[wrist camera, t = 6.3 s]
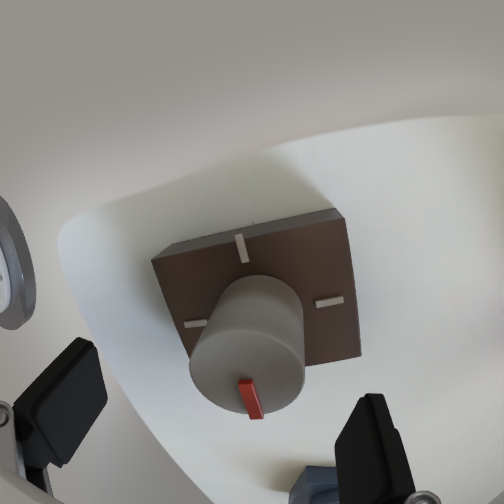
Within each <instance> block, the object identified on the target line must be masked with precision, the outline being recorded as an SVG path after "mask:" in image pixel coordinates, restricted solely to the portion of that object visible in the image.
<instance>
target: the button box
mask: <svg viewBox="0 0 504 504" xmlns="http://www.w3.org/2000/svg"><path fill="white" fill-rule="evenodd" d="M288 504H339V491H338V480H337V469H336V467H313V466H307V467H306V468H305V470H304V472H303V473H302V475H301V477H300V478H299V480H298V481H297V483H296V484H295V486H294V488H293V489H292V491H291V492H290V494H289V503H288Z"/></svg>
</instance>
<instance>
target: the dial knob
mask: <svg viewBox="0 0 504 504" xmlns="http://www.w3.org/2000/svg"><path fill="white" fill-rule="evenodd" d="M189 370H190V375H191V378H192V380H193V382H194V384H195V386H196V387H197V389H198V390H199V391H200V392H201V393H202V394H203V395H204V396H205V397H206V398H207V399H208V400H210V401H211V402H213V403H214V404H216V405H218V406H220V407H222V408H224V409H226V410H229V411H232V412H236V413H241V414H248V415H249V417H250V419H251V420H253V419H263V418H264V414H266V413H271V412H274V411H277V410H280V409H282V408H284V407H286V406H288V405H289V404H290V403H292V402H293V401H294V400H295V399H296V398H297V397H298V395H299V394H300V392H301V390H302V388H303V386H304V382H305V351H304V323H303V308H302V304H301V301H300V299H299V297H298V296H297V294H296V293H295V291H294V290H293V289H292V288H291V287H290V286H289V285H287V284H286V283H284V282H283V281H281V280H279V279H276V278H274V277H270V276H265V275H250V276H246V277H243V278H240V279H238V280H236V281H234V282H233V283H231V284H230V285H229V286H228V287H227V288H226V289H225V290H224V292H223V293H222V295H221V297H220V299H219V301H218V303H217V305H216V307H215V309H214V311H213V312H212V314H211V316H210V318H209V320H208V322H207V324H206V326H205V328H204V330H203V332H202V334H201V336H200V338H199V340H198V342H197V344H196V346H195V348H194V349H193V351H192V354H191V357H190V362H189Z"/></svg>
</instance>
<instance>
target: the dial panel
mask: <svg viewBox="0 0 504 504" xmlns="http://www.w3.org/2000/svg"><path fill="white" fill-rule="evenodd" d="M151 262H152V265H153V268H154V271H155V274H156V276H157V279H158V282H159V285H160V287H161V290H162V293H163V295H164V298H165V301H166V303H167V306H168V308H169V311H170V314H171V316H172V319H173V321H174V324H175V326H176V328H177V331H178V333H179V336H180V338H181V340H182V343H183V345H184V347H185V350H186V352H187V354H188V357H189V359H190V357H191V354H192V351H193V349H194V348H195V346H196V344H197V342H198V340H199V338H200V336H201V334H202V332H203V330H204V328H205V326H206V324H207V322H208V320H209V318H210V316H211V314H212V312H213V311H214V309H215V307H216V305H217V303H218V301H219V299H220V297H221V295H222V293H223V292H224V290H225V289H226V288H227V287H228V286H229V285H230V284H231V283H233V282H234V281H236V280H238V279H240V278H243V277H246V276H250V275H265V276H270V277H274V278H276V279H279V280H281V281H283V282H284V283H286V284H287V285H289V286H290V287H291V288H292V289H293V290H294V291H295V293H296V294H297V296H298V297H299V299H300V301H301V304H302V308H303V323H304V351H305V367H306V366H312V365H318V364H324V363H329V362H335V361H340V360H345V359H350V358H355V357H359V356H361V355H362V354H361V340H360V328H359V317H358V307H357V298H356V290H355V281H354V274H353V267H352V260H351V253H350V246H349V240H348V234H347V228H346V222H345V218H344V217H343V216H342V215H341V214H340V213H339V212H338V210H337V209H336V208H332V209H327V210H322V211H318V212H313V213H308V214H303V215H298V216H294V217H289V218H284V219H280V220H275V221H270V222H266V223H261V224H257V225H252V226H248V227H243V228H239V229H234V230H230V231H226V232H221V233H217V234H213V235H208V236H204V237H200V238H196V239H191V240H187V241H183V242H179V243H175V244H171V245H170V246H169V247H167V248H166V249H165V250H163V251H162V252H161V253H159V254H158V255H157V256H155V257H154V258H153V259H152V260H151Z"/></svg>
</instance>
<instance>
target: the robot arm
mask: <svg viewBox="0 0 504 504" xmlns="http://www.w3.org/2000/svg"><path fill="white" fill-rule="evenodd" d="M10 298H11V286H10V278H9V272H8V268H7V264H6V261H5V257H4V254H3V251H2V249H1V246H0V313H1V312H3V311H4V310H5V309H7V307H8V306H9V303H10ZM107 399H108V397H107V392H106V388H105V384H104V380H103V376H102V372H101V367H100V362H99V358H98V352H97V349H96V347H94V344H93V343H92V342H91V341H88V340H86V339H83V338H80V337H78V338H76V339H75V340H74V341H73V342H72V343H71V344H70V345H69V346H68V347H67V348H66V349H65V350H64V351H63V352H62V353H61V354H60V355H59V356H58V357H57V358H56V359H55V360H54V361H53V362H52V363H51V364H50V365H49V366H48V367H47V368H46V369H45V370H44V371H43V372H42V373H41V374H40V375H39V376H38V377H37V378H36V379H35V381H34V382H33V383H32V384H31V385H30V386H29V387H28V388H27V389H26V390H25V391H24V392H23V393H22V394H21V396H20V397H19V398H18V399H17V400H16V401H15V402H14V406H13V407H11V406H10V405H9V404H8V403H6V402H4V401H0V504H64V503H62V502H61V501H59V500H57V499H55V498H54V496H53V493H52V488H51V485H50V480H49V476H48V471H47V465H48V464H49V462H51V463H52V464H54V465H56V466H58V467H59V468H61V467H62V466H63V464H67V463H68V462H69V461H70V459H71V458H72V456H73V455H74V453H75V451H76V450H77V448H78V447H79V445H80V443H81V442H82V440H83V439H84V437H85V436H86V434H87V433H88V431H89V429H90V428H91V426H92V425H93V423H94V422H95V420H96V419H97V417H98V416H99V414H100V413H101V411H102V409H103V408H104V406H105V405H106V403H107ZM335 459H336V469H337V480H338V491H339V504H441V501H440V499H439V498H438V497H437V495H435V494H434V493H432V492H429V491H418V492H416V490H415V486H414V482H413V478H412V474H411V471H410V467H409V464H408V460H407V457H406V453H405V450H404V447H403V443H402V440H401V437H400V434H399V432H398V430H397V429H396V428H394V425H393V422H392V419H391V416H390V413H389V410H388V407H387V404H386V401H385V398H384V395H383V394H372V393H367V394H365V396H364V397H361V398H359V400H358V402H357V404H356V406H355V408H354V410H353V412H352V413H351V415H350V417H349V419H348V421H347V423H346V424H345V426H344V428H343V430H342V431H341V433H340V435H339V437H338V438H337V440H336V442H335Z"/></svg>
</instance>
